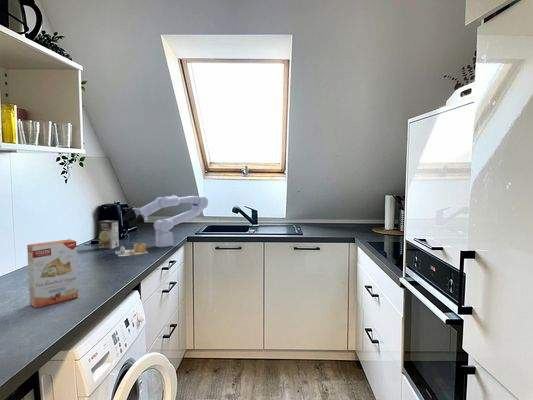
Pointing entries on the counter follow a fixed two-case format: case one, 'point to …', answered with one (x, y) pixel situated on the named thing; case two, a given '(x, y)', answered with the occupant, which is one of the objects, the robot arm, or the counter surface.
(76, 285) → the cracker box
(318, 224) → the counter surface
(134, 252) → the maple board
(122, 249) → the steel hub
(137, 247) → the bronze ring
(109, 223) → the coffee box
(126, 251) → the hub pad
